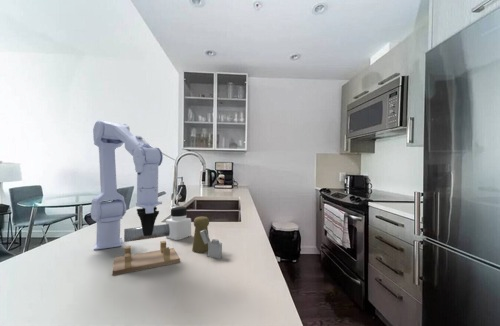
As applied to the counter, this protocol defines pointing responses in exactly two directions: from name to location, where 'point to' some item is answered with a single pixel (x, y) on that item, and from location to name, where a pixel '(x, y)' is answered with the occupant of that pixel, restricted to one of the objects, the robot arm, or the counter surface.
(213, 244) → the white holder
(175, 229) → the medicine bottle
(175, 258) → the stand
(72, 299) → the counter surface
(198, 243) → the cork
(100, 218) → the robot arm
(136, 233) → the tube
